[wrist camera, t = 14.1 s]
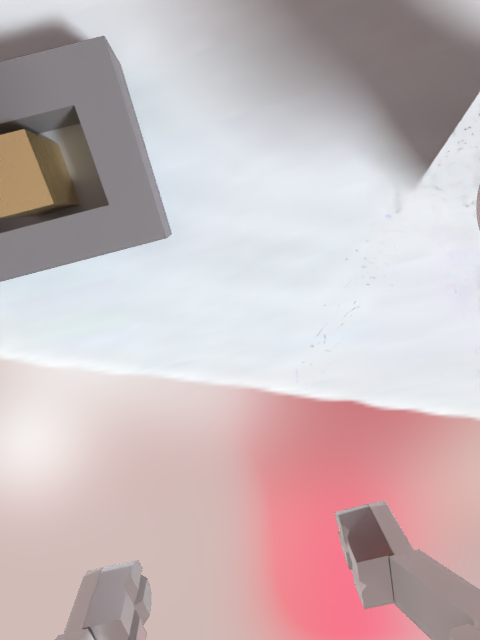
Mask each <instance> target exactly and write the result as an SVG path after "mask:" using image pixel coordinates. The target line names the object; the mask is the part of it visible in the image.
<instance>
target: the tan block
mask: <svg viewBox="0 0 480 640" xmlns="http://www.w3.org/2000/svg"><path fill="white" fill-rule="evenodd" d="M79 205H81V203H80V200H79V198H78V195H77V192H76V190H75V187H74V184H73V182H72V179H71V176H70V174H69V171H68V168H67V166H66V163H65V160H64V158H63V155H62V152H61V150H60V147H59V144H57V143H54V142H52V141H50V140H48V139H46V138H43V137H41V136H39V135H37V134H34V133H32V132H30V131H28V130H26V129H22V130H18V131H14V132H10V133H6V134H2V135H0V218H6V217H31V216H40V215H44V214H48V213H52V212H55V211H59V210H63V209H67V208H71V207H75V206H79Z"/></svg>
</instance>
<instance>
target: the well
mask: <svg viewBox="0 0 480 640" xmlns="http://www.w3.org/2000/svg"><path fill="white" fill-rule="evenodd" d="M22 129H26V130H28V131H30V132H32V133H34V134H37V135H39V136H41V137H43V138H46V139H48V140H50V141H52V142H54V143H57V144H59V147H60V150H61V152H62V155H63V158H64V160H65V163H66V166H67V168H68V171H69V174H70V176H71V179H72V182H73V184H74V187H75V190H76V192H77V195H78V198H79V200H80V203H81V205H79V206H75V207H71V208H67V209H63V210H59V211H55V212H52V213H48V214H44V215H40V216H31V217H6V218H0V282H1V281H5V280H9V279H13V278H16V277H20V276H24V275H28V274H32V273H36V272H39V271H43V270H47V269H51V268H55V267H58V266H62V265H66V264H70V263H74V262H77V261H81V260H85V259H89V258H93V257H96V256H100V255H104V254H108V253H112V252H116V251H119V250H123V249H127V248H131V247H135V246H138V245H142V244H146V243H150V242H154V241H157V240H161V239H165V238H167V237H169V236H170V235H171V234H172V233H171V230H170V226H169V223H168V220H167V217H166V213H165V210H164V207H163V203H162V200H161V197H160V193H159V190H158V187H157V184H156V180H155V177H154V174H153V170H152V167H151V164H150V160H149V157H148V154H147V150H146V147H145V144H144V141H143V137H142V134H141V131H140V127H139V124H138V121H137V117H136V114H135V111H134V107H133V104H132V101H131V98H130V94H129V91H128V88H127V84H126V81H125V78H124V74H123V71H122V68H121V64H120V63H119V61H118V59H117V57H116V56H115V54H114V52H113V50H112V49H111V47H110V45H109V43H108V42H107V40H106V38H105V36H101V37H97V38H93V39H89V40H85V41H81V42H77V43H73V44H69V45H65V46H61V47H57V48H53V49H49V50H45V51H41V52H37V53H33V54H29V55H25V56H21V57H17V58H13V59H9V60H5V61H1V62H0V135H2V134H6V133H10V132H14V131H18V130H22Z"/></svg>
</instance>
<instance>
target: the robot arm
mask: <svg viewBox="0 0 480 640" xmlns="http://www.w3.org/2000/svg"><path fill="white" fill-rule="evenodd" d="M477 221H478V226H479V229H480V185H479V190H478V195H477ZM335 516H336V521H337V524H338V527H339V529H340V531H339V537H340V541H341V546H342V549H343V552H344V556H345V558H346V561H347V564H348V567H349V569H351V570H352V571H353V576H354V582H355V586H356V588H357V591H358V594H359V596H360V599H361V601H362V604H363V607H364V609H368V608H373V607H378V606H383V605H388V604H393V603H395V605H396V606H397V607H398V608H399V609H400V610H401V611H402V612H403V613H404V614H405V615H406V616H407V617H408V618H409V619H410V620H412V621H413V622H414V623H415V624H416V625H417V626H418V627H419V628H420V629H421V630H422V631H423V632H424V633H425V634H426V635H427V636H428V637H429V638H430V639H431V640H480V589H478V588H477V587H475V586H474V585H472V584H470V583H469V582H467V581H466V580H465V579H463V578H462V577H460V576H459V575H457V574H456V573H454V572H452V571H451V570H449V569H448V568H447V567H445V566H443V565H442V564H441V563H439V562H438V561H436V560H435V559H433V558H432V557H430V556H429V555H427V554H425V553H424V552H423V551H421V550H419V549H418V550H414V549H413V548H412V546H411V544H410V543H409V541H408V539H407V537H406V536H405V534H404V532H403V530H402V529H401V527H400V525H399V524H398V522H397V520H396V518H395V517H394V515H393V514H392V512H391V510H390V508H389V506H388V505H387V503H386V502H385V501H380V502H375V503H371V504H368V505H362V506H358V507H354V508H350V509H346V510H342V511H338V512H335ZM141 572H142V566H141V564H140V562H139V561H138V560H137V561H131V562H127V563H122V564H118V565H112V566H108V567H103V568H99V569H94V570H90V571H87V573H86V574H85V576H84V577H83V580H82V582H81V585H80V588H79V591H78V594H77V597H76V600H75V602H74V606H73V608H72V611H71V614H70V617H69V620H68V622H67V625H66V628H65V631H64V634H61V635H58V636H57V638H56V639H55V640H146V637H147V632H146V630H145V628H144V626H143V625H144V624H145V622H146V621H147V619H148V618H149V616H150V611H151V589H150V584H149V582H148V579H147V578H146V577H144V576H142V575H141Z"/></svg>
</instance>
